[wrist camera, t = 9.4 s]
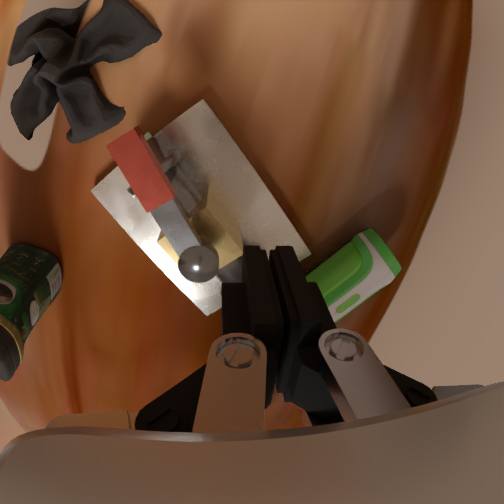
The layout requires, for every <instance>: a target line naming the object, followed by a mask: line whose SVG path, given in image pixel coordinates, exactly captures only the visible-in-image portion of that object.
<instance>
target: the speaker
mask: <svg viewBox="0 0 504 504" xmlns="http://www.w3.org/2000/svg"><path fill="white" fill-rule="evenodd" d="M400 270H401V265H400V263H399V262H398V260H397V259H396V257H395V256H394V254H393V253H392V251H391V250H390V249H389V247H388V246H387V245H386V243H385V242H384V241H383V240H382V238H381V237H380V236H379V235H378V234H377V233H376V231H375V230H373V229H372V228H369V229H367V230H365V231H363V232H361V233H359V234H357V235H355V236H354V237H353V239H352V240H351V241H350V243H347V244H346V245H345V246H344V247H342V248H341V249H340V250H339V251H337V252H336V253H335V254H334V255H332V256H331V257H330V258H329V259H327V260H326V261H325V262H323V263H322V264H321V265H320V266H318V267H317V268H316V269H315V270H313V271H312V272H311V273H309V274H308V275H307V276H306V280H307V282H316V283H317V284H318V286H319V289H320V291H321V293H322V295H323V298H324V300H325V302H326V305H327V307H328V309H329V311H330V314H331V316H332V318H333V321H334V323H336V322H337V321H338V320H340V319H341V318H342V317H344V316H345V315H347V314H348V313H349V312H351V311H352V310H353V309H355V308H356V307H357V306H359V305H360V304H361V303H363V302H364V301H365V300H367V299H368V298H369V297H370V296H372V295H373V294H374V293H376V292H377V291H379V290H380V289H382V288H383V287H385V286H387V285H388V284H390V283H391V282H392V280H393V279H394V278H395V277H396V276H397V274H398V273H399V272H400Z"/></svg>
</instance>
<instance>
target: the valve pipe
mask: <svg viewBox="0 0 504 504" xmlns="http://www.w3.org/2000/svg"><path fill="white" fill-rule="evenodd" d="M144 137H145V139H146V141H147V142H148V144H149V146H150V148H151V149H152V151H153V153H154V155H155V156H156V158H157V160H158V162H159V163H160V165H161V167H162V169H163V170H164V172H165V174H166V176H167V177H168V179H169V181H170V183H171V184H172V186H173V188H174V189H175V191H176V195H175V197H176V199H177V201H178V202H179V204H180V206H181V207H182V209H183V211H184V212H185V214H186V216H187V217H188V219H189V221H190V222H191V224H192V226H193V227H194V229H195V231H196V232H197V234H198V236H199V237H200V239H201V241H204V242H207V243H209V244H211V245H212V246H213V247H214V248H215V249H216V250H217V252H218V254H219V270H218V273H217V274H216V276H215V277H214V278H213V279H211V280H209V281H207V282H203V283H195V282H191V281H189V280H187V279H186V278H184V277H183V276H182V275H181V273H180V271H179V269H178V260H179V256H178V255H177V253H176V252H175V250H174V249H173V247H172V246H171V244H170V243H169V241H168V240H167V238H166V236H165V235H164V233H163V232H162V230H161V229H160V227H159V225H158V224H157V222H156V221H155V219H154V218H153V216H152V214H151V213H150V212H148V213H147V212H146V211H145V209H144V208H143V206H142V205H141V203H140V201H139V200H138V198H137V196H136V195H135V193H134V192H133V190H132V188H131V187H130V185H129V183H128V182H127V180H126V178H125V177H124V175H123V173H122V172H121V170H120V168H119V167H118V166H117V167H116V168H115V169H114V170H113V171H111V172H110V173H109V174H108V175H107V176H106V177H105V178H104V179H103V180H102V181H100V182H99V183H98V184H97V185H96V186H95V187H94V188H93V189H92V190H91V192H92V193H93V194H94V195H95V197H96V198H97V199H98V200H99V201H100V202H101V204H102V205H103V206H104V207H105V208H106V209H107V211H108V212H109V213H110V214H111V215H112V216H113V218H114V219H115V220H116V221H117V222H118V223H119V224H120V225H121V227H122V228H123V229H124V230H125V231H126V232H127V233H128V234H129V235H130V237H131V238H132V239H133V240H134V241H135V242H136V243H137V244H138V245H139V246H140V248H141V249H142V250H143V251H144V252H145V253H146V254H147V255H148V256H149V257H150V258H151V259H152V260H153V262H154V263H155V264H156V265H157V266H158V267H159V268H160V269H161V270H162V271H163V272H164V273H165V274H166V275H167V276H168V277H169V278H170V279H171V280H172V281H173V282H174V283H175V285H176V286H177V287H178V288H179V289H180V290H181V291H182V292H183V293H184V294H185V295H186V296H187V297H188V298H189V299H190V300H191V301H192V302H193V303H194V304H195V305H196V306H197V307H198V308H199V309H200V310H201V311H202V312H203V313H204V314H205V315H206V316H208V315H210V314H212V313H213V312H215V311H217V310H219V309H220V308H222V283H241V279H242V257H243V245H260V249H261V250H266V252H267V256H268V260H269V252H270V250H275V247H276V246H293V248H294V251H295V253H296V255H297V258H298V260H299V262H300V261H301V260H303V259H305V258H306V257H308V256H309V255H311V252H310V250H309V248H308V247H307V245H306V244H305V242H304V241H303V239H302V238H301V236H300V235H299V233H298V232H297V230H296V229H295V227H294V226H293V224H292V223H291V221H290V220H289V218H288V217H287V215H286V214H285V212H284V211H283V209H282V208H281V206H280V205H279V203H278V202H277V200H276V199H275V197H274V196H273V195H272V193H271V192H270V190H269V189H268V187H267V186H266V184H265V183H264V182H263V180H262V179H261V177H260V176H259V174H258V173H257V171H256V170H255V169H254V167H253V166H252V164H251V163H250V162H249V160H248V159H247V157H246V156H245V154H244V153H243V152H242V150H241V149H240V147H239V146H238V145H237V143H236V142H235V141H234V139H233V138H232V136H231V135H230V134H229V132H228V131H227V130H226V128H225V127H224V125H223V124H222V123H221V121H220V120H219V119H218V117H217V116H216V115H215V113H214V112H213V111H212V109H211V108H210V106H209V105H208V104H207V102H206V101H205V100H204V99H202V100H201V101H199V102H198V103H196V104H195V105H194V106H192V107H191V108H189V109H188V110H187V111H185V112H184V113H183V114H181V115H180V116H179V117H177V118H176V119H175V120H173V121H172V122H171V123H169V124H168V125H167V126H165V127H164V128H163V129H161V130H160V131H159V132H158V133H156V134H155V135H154V136H152V135H151V134H150V132H147V133H146V134H145V135H144Z"/></svg>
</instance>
